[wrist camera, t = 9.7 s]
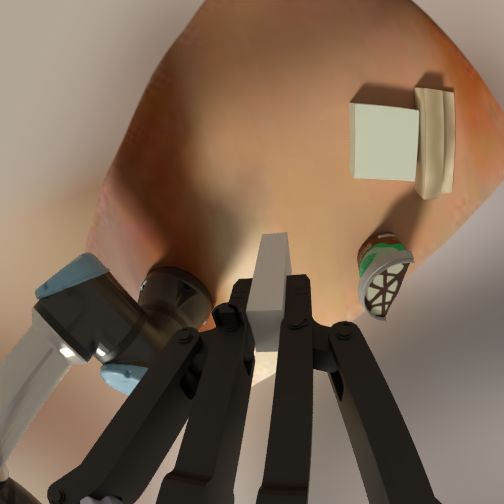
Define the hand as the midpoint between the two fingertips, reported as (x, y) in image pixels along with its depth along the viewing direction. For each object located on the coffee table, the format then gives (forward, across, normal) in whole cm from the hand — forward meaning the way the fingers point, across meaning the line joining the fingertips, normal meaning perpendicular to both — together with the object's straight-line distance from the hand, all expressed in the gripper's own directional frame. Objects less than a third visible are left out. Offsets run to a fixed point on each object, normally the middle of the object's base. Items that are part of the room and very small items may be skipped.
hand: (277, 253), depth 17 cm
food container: (+25, +12, -17) cm, 33 cm away
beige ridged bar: (+24, +23, +2) cm, 34 cm away
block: (+25, +14, +2) cm, 29 cm away
